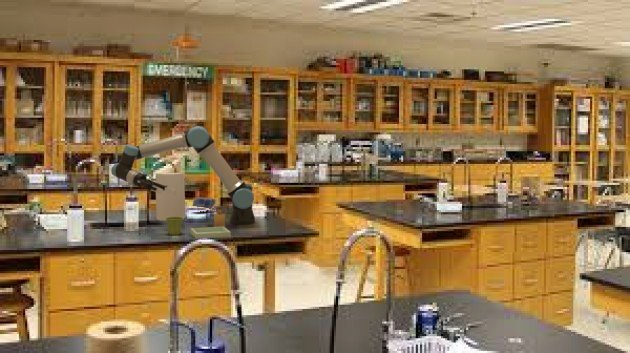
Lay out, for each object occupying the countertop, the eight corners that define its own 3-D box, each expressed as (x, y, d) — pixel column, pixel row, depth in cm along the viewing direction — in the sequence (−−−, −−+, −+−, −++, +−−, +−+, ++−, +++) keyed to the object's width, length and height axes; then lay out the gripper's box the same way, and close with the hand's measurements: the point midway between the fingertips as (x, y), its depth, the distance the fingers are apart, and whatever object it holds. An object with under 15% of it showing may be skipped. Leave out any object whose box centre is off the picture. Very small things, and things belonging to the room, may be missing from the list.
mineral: (196, 214, 438) (196, 198, 437) (191, 212, 446) (191, 197, 445) (218, 213, 445) (217, 197, 444) (212, 211, 453) (212, 196, 452)
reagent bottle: (223, 229, 384) (223, 205, 383) (226, 230, 379) (226, 207, 377) (213, 229, 382) (213, 206, 381) (215, 231, 377) (215, 207, 375)
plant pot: (177, 231, 375) (177, 216, 374) (187, 234, 368) (187, 218, 368) (162, 234, 369) (162, 218, 368) (172, 236, 362) (171, 220, 361)
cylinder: (182, 221, 412) (181, 174, 410) (153, 220, 412) (152, 174, 410) (187, 216, 429) (187, 171, 427) (160, 216, 430) (159, 171, 427)
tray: (223, 232, 375) (223, 226, 375) (230, 237, 358) (230, 232, 358) (190, 233, 369) (190, 228, 369) (196, 239, 352) (196, 233, 352)
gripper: (146, 186, 391) (177, 200, 384) (121, 183, 367) (153, 198, 361) (151, 174, 391) (182, 187, 384) (126, 170, 367) (159, 184, 360)
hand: (168, 192), depth 372 cm, fingers open, 13 cm apart
